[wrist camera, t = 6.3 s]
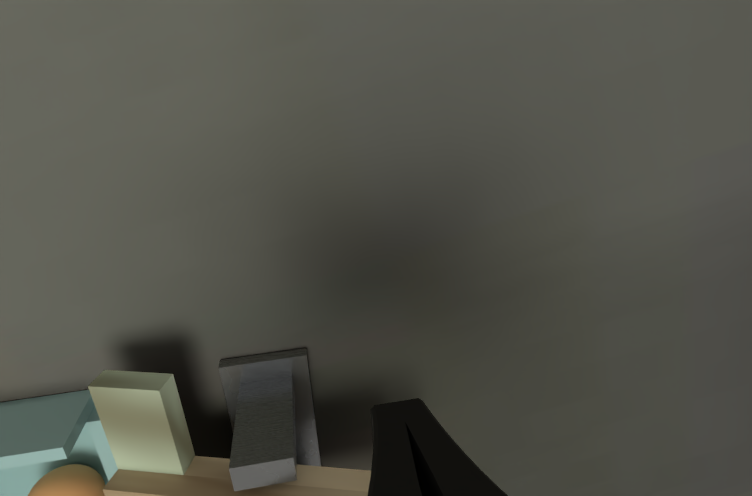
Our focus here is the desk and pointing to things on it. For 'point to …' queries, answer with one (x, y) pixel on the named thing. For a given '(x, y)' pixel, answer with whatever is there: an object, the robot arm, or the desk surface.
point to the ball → (70, 482)
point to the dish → (50, 439)
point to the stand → (269, 417)
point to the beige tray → (183, 447)
